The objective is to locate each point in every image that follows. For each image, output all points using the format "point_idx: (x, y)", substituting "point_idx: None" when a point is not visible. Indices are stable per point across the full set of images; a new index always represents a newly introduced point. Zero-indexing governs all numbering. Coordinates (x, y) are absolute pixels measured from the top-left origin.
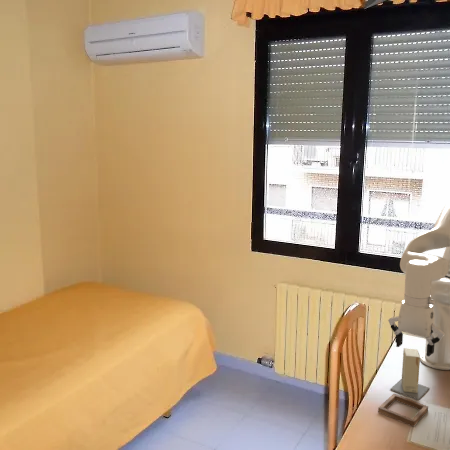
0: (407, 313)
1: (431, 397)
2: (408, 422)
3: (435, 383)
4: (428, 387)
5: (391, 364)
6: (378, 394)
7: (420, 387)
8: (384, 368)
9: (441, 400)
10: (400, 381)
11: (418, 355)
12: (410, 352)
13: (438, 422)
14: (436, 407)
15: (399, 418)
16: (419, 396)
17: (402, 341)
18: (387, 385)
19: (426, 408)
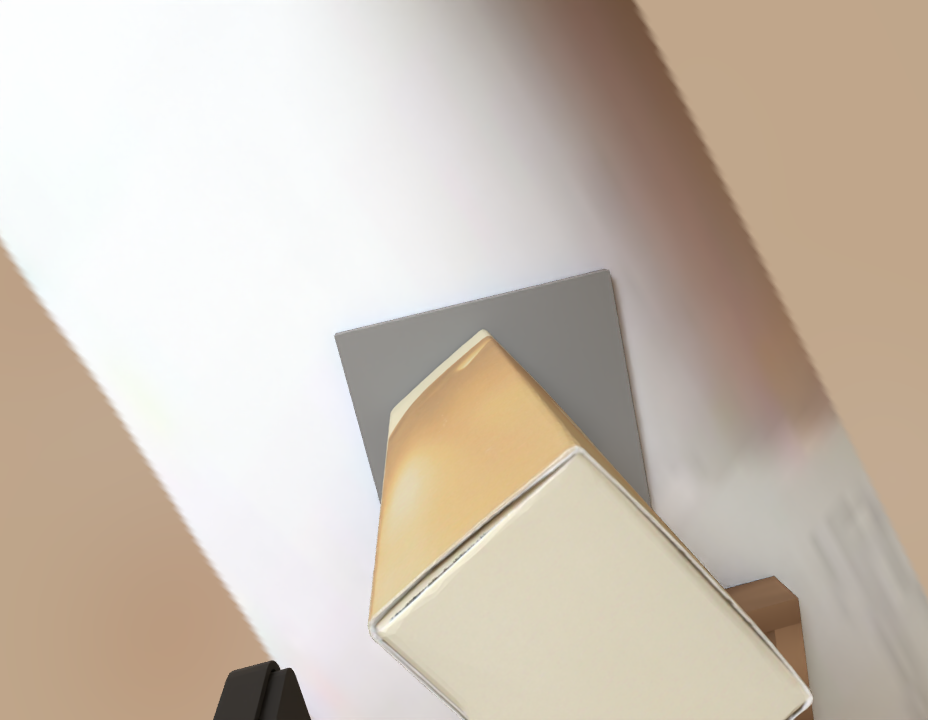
0: None
1: (690, 378)
2: None
3: (580, 108)
4: (600, 272)
5: (22, 133)
6: (392, 711)
7: (554, 338)
8: (58, 288)
9: (769, 348)
10: (370, 407)
11: (752, 657)
12: (588, 694)
13: (890, 628)
14: (792, 477)
15: None
16: (636, 480)
17: (280, 710)
18: (333, 539)
19: (801, 630)
